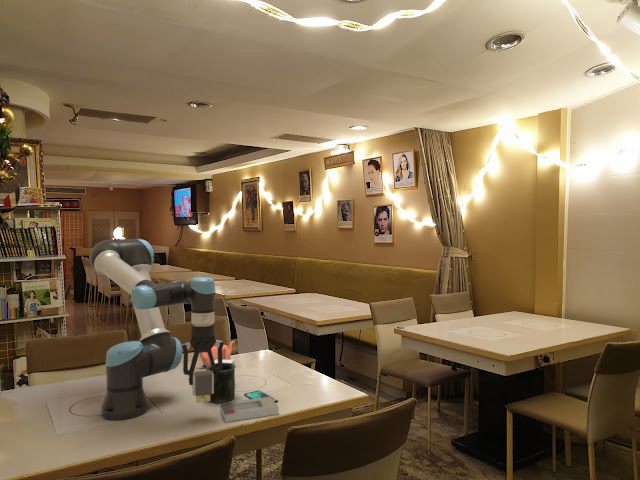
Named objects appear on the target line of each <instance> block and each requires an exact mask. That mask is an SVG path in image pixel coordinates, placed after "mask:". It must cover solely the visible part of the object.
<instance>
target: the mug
mask: <svg viewBox="0 0 640 480" xmlns="http://www.w3.org/2000/svg"><path fill="white" fill-rule="evenodd" d="M215 366H216V367H218V363H215ZM222 368H223V369H222V371H219V372H218V373H217V382H216V383H214V393H213V394H210V401H209V402H211V403H216V404H220V403H227V402H232V400H234V399H235V396H236V389H235V385H236V377H235V376H236V374H234V369H236V365H235V363H234V364H231V363H222ZM207 370H210V371H211V372H213V370H212V367H211V365H209V366H206V367H205V371H207Z"/></svg>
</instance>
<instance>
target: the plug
mask: <svg viewBox="0 0 640 480" xmlns="http://www.w3.org/2000/svg"><path fill="white" fill-rule="evenodd" d="M193 374H195V397H196V399H195V402H196V403H202V400H205V402H210V394H212V374H211V371H210V370H197V371H194V373H193Z"/></svg>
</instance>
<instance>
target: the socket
mask: <svg viewBox="0 0 640 480" xmlns="http://www.w3.org/2000/svg"><path fill="white" fill-rule="evenodd" d="M271 397H272V396H270V397H263V398H256V399H249V398H248V399H242V400H236V401H234V400H233V401H228V402H223V403H219V411H220V413H221V415H222V416H221V417H222V418H223V421H224V422H225V423H230V422H231V423H232V422H237V421H244V420H245V421H246V420H250V419H258V418H262V417H264V418H265V417H270V416H277V415H279V406H278V405H277V403H275V402H274V401H273V399H272V398H273V397H272V398H271Z"/></svg>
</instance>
